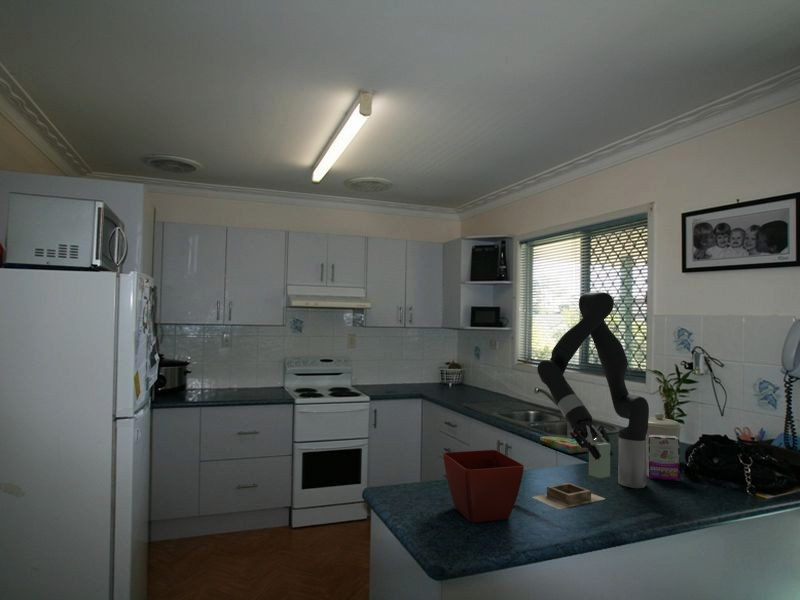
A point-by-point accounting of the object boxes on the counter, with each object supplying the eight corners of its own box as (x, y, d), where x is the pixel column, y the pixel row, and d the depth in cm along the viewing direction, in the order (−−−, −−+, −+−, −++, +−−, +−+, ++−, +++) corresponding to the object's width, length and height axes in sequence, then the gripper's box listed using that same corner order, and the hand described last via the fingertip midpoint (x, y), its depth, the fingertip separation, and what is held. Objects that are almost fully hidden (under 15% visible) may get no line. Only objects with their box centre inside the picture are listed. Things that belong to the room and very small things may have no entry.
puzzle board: (577, 492, 177) (577, 479, 178) (605, 503, 167) (606, 489, 167) (531, 501, 166) (531, 487, 167) (559, 514, 156) (559, 499, 156)
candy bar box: (676, 477, 198) (676, 435, 199) (680, 481, 193) (680, 438, 194) (645, 474, 201) (645, 433, 202) (648, 478, 196) (648, 436, 197)
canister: (681, 468, 211) (681, 418, 212) (634, 461, 221) (634, 413, 222) (683, 459, 227) (683, 412, 228) (639, 452, 236) (639, 407, 237)
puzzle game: (569, 444, 230) (540, 435, 248) (569, 455, 229) (539, 444, 247) (588, 442, 235) (558, 433, 253) (588, 452, 234) (558, 443, 252)
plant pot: (464, 529, 143) (466, 469, 144) (440, 505, 161) (442, 452, 162) (524, 523, 148) (525, 465, 149) (494, 500, 167) (495, 449, 167)
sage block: (599, 472, 160) (599, 441, 160) (610, 476, 156) (610, 443, 157) (588, 474, 157) (589, 442, 158) (599, 478, 154) (599, 445, 154)
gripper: (565, 405, 161) (596, 453, 150) (595, 403, 168) (627, 448, 157) (552, 419, 165) (581, 466, 154) (582, 416, 172) (612, 461, 161)
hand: (604, 457), depth 155 cm, fingers closed on sage block, 5 cm apart
